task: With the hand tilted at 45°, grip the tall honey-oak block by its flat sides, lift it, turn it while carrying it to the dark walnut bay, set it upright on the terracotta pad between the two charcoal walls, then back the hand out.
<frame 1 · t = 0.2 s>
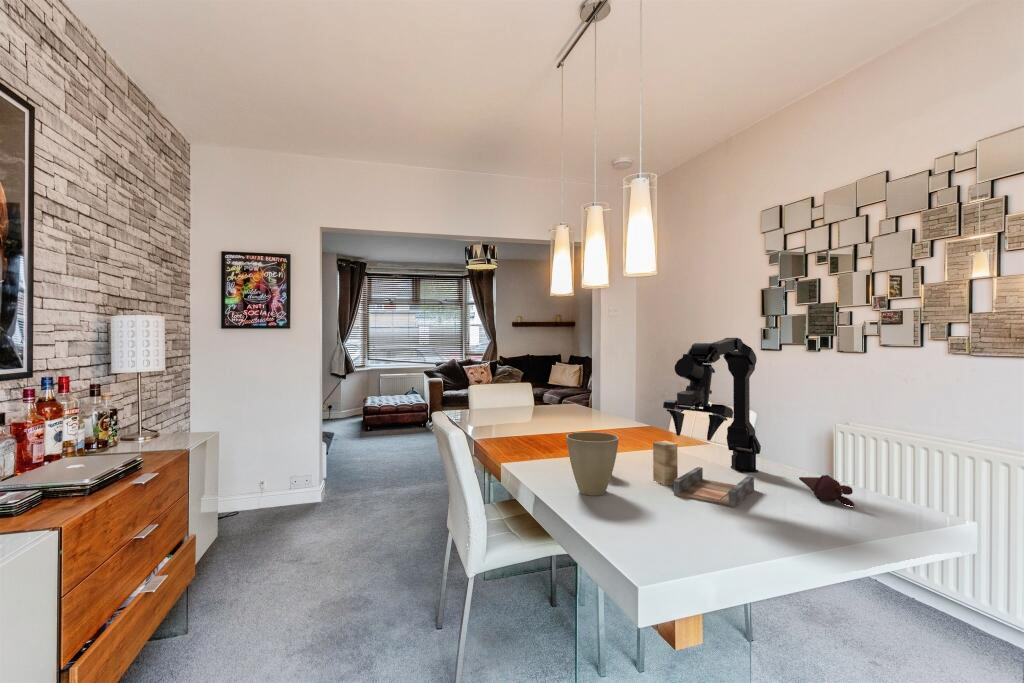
hand: (692, 438, 135), 15 cm above the table, tool tilted 15°, fingers open, 9 cm apart
icecream: (825, 500, 127), on the table
plant pot: (592, 492, 135), on the table
oak block: (665, 482, 144), on the table
bay: (710, 495, 131), on the table
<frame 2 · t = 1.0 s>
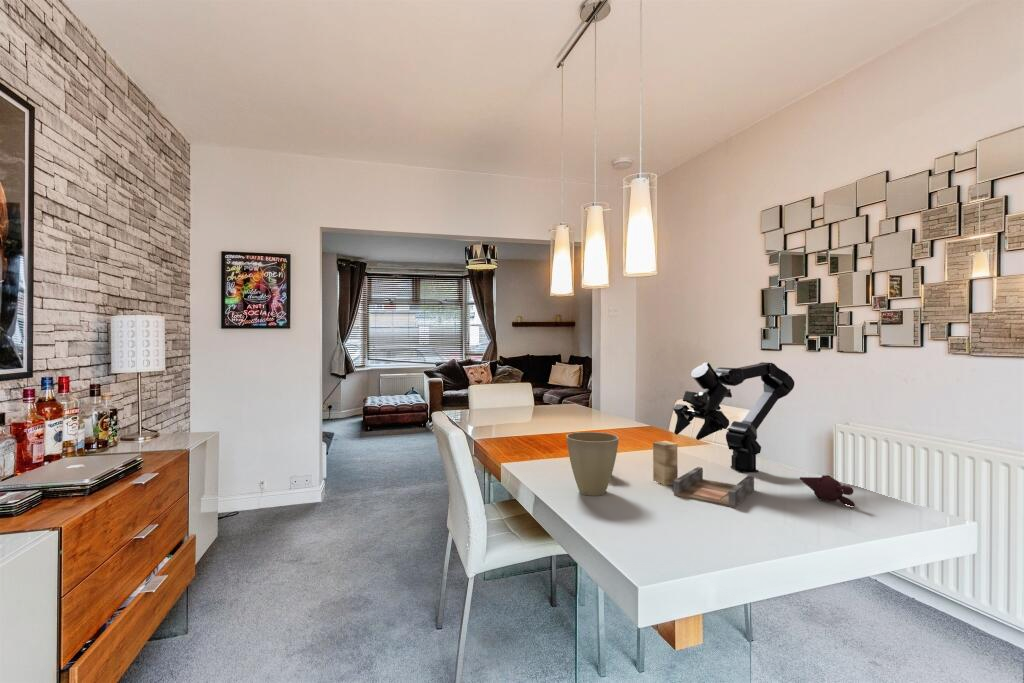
hand: (685, 436, 147), 13 cm above the table, tool tilted 45°, fingers open, 9 cm apart
nothing on the table moved.
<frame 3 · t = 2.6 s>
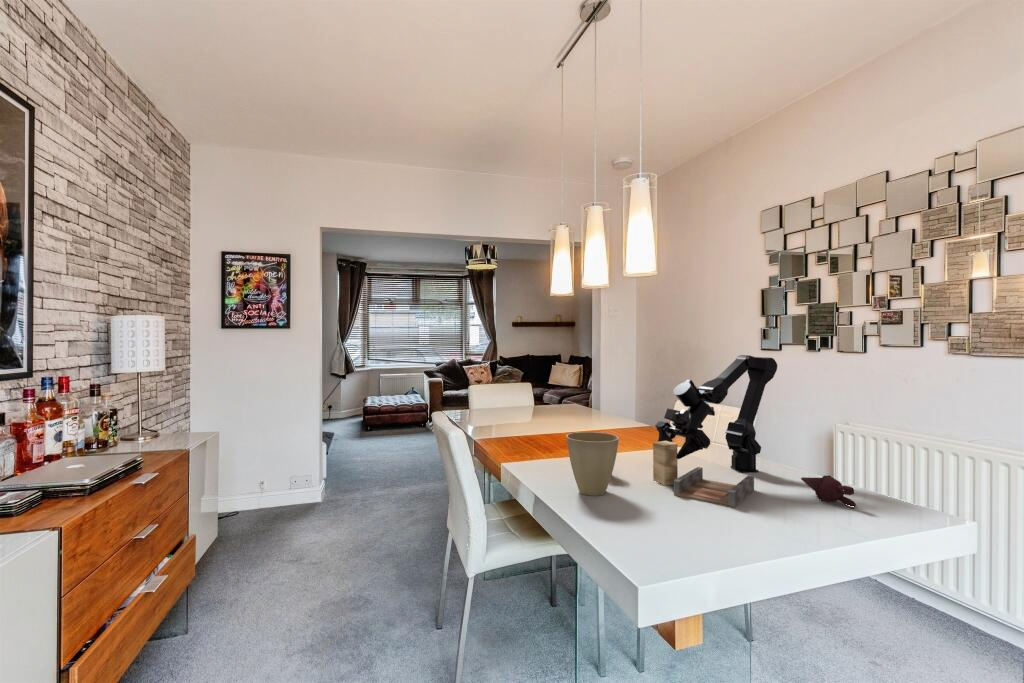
hand: (666, 454, 144), 8 cm above the table, tool tilted 45°, fingers open, 9 cm apart
nothing on the table moved.
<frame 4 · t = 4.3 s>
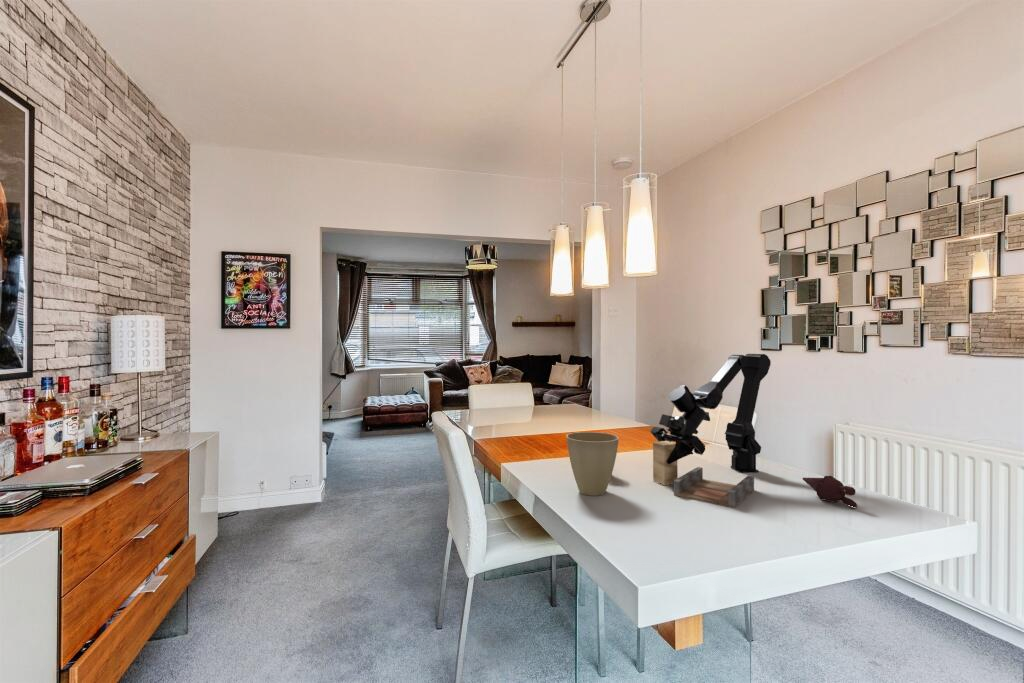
hand: (661, 461, 143), 7 cm above the table, tool tilted 45°, fingers closed on oak block, 5 cm apart
oak block: (665, 482, 144), on the table, touching gripper
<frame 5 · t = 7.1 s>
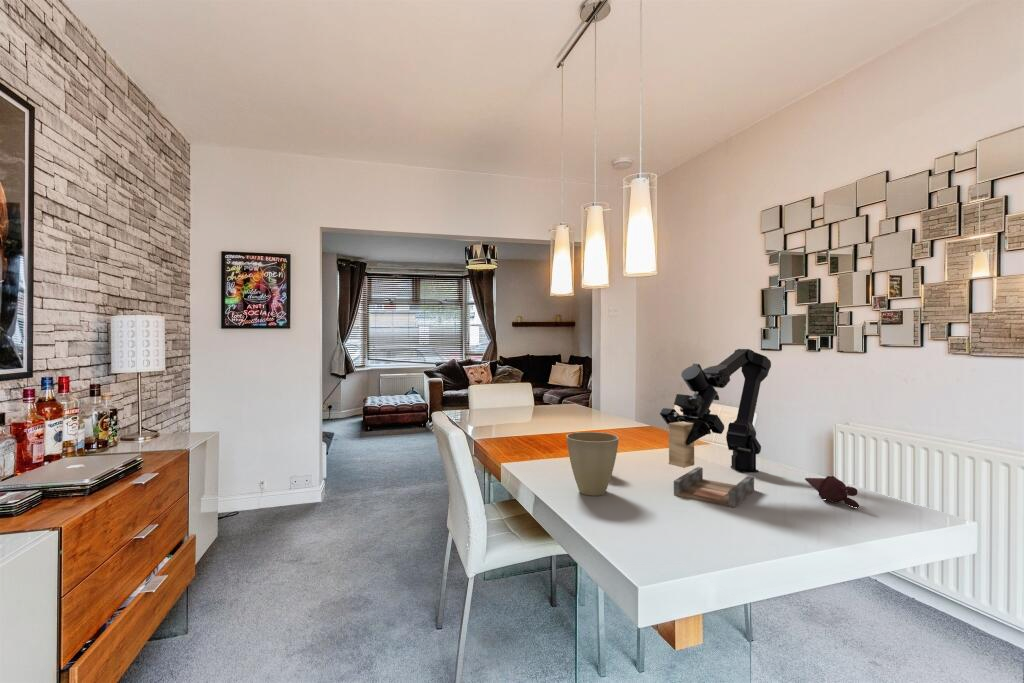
hand: (678, 442, 137), 13 cm above the table, tool tilted 45°, fingers closed on oak block, 5 cm apart
oak block: (681, 464, 138), point 7 cm above the table, touching gripper
when the fingers open (8 cm above the table, at t = 9.9 s): oak block drops 1 cm, resting on bay.
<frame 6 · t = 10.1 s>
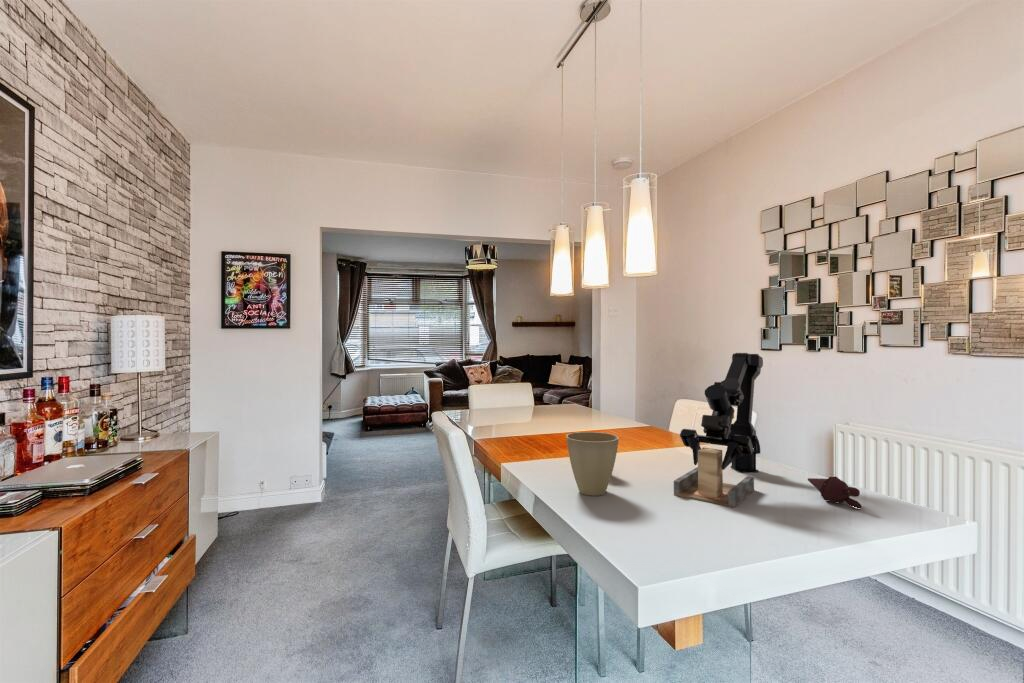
hand: (708, 466, 130), 8 cm above the table, tool tilted 45°, fingers open, 7 cm apart
oak block: (710, 493, 131), point 1 cm above the table, touching bay
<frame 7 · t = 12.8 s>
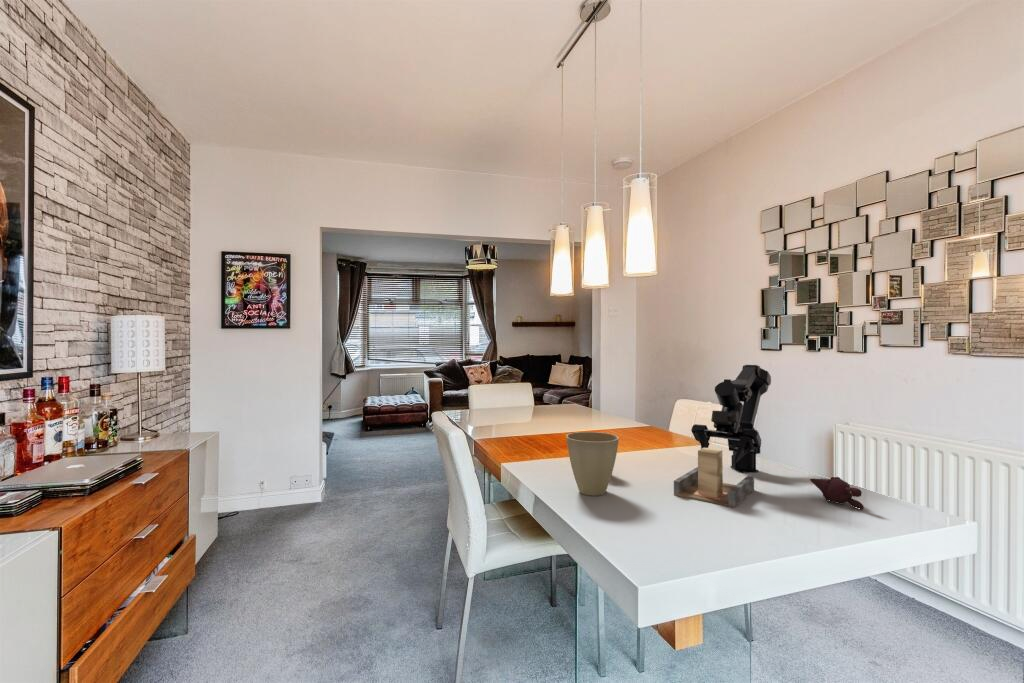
hand: (719, 459, 137), 8 cm above the table, tool tilted 45°, fingers open, 9 cm apart
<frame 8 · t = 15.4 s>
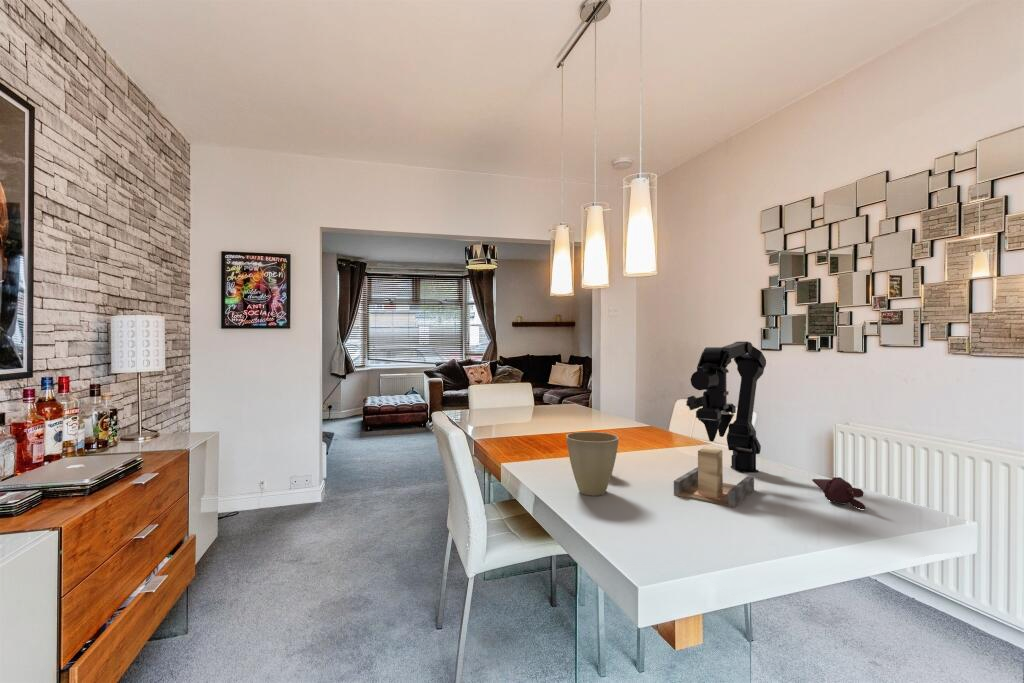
hand: (716, 438, 144), 13 cm above the table, tool pointing down, fingers open, 9 cm apart
at the end: oak block 0.0 cm from the bay (horizontally); oak block tilted 0°; the gripper is holding nothing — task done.
